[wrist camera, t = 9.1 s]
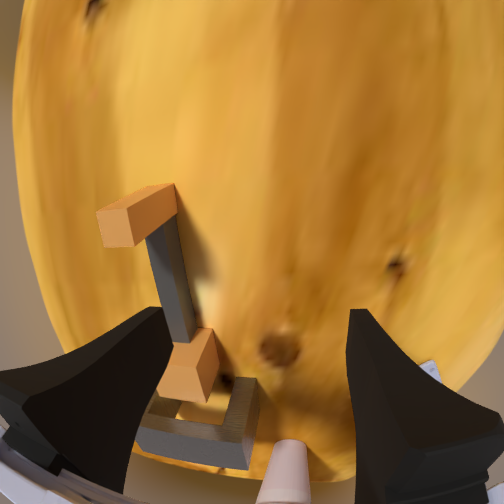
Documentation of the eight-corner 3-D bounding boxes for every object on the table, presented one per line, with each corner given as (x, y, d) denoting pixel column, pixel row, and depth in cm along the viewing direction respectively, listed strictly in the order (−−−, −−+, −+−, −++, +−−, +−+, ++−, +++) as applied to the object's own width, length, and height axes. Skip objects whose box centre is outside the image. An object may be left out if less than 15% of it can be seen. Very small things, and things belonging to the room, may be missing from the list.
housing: (259, 411, 27) (248, 470, 21) (166, 400, 29) (142, 451, 22) (255, 378, 25) (241, 443, 19) (153, 368, 27) (123, 421, 20)
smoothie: (252, 438, 29) (228, 547, 17) (306, 428, 27) (295, 550, 15) (276, 461, 31) (260, 557, 19) (325, 453, 29) (319, 557, 17)
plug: (220, 364, 25) (201, 418, 20) (177, 360, 26) (153, 409, 20) (187, 181, 19) (143, 206, 14) (135, 187, 20) (82, 213, 14)
